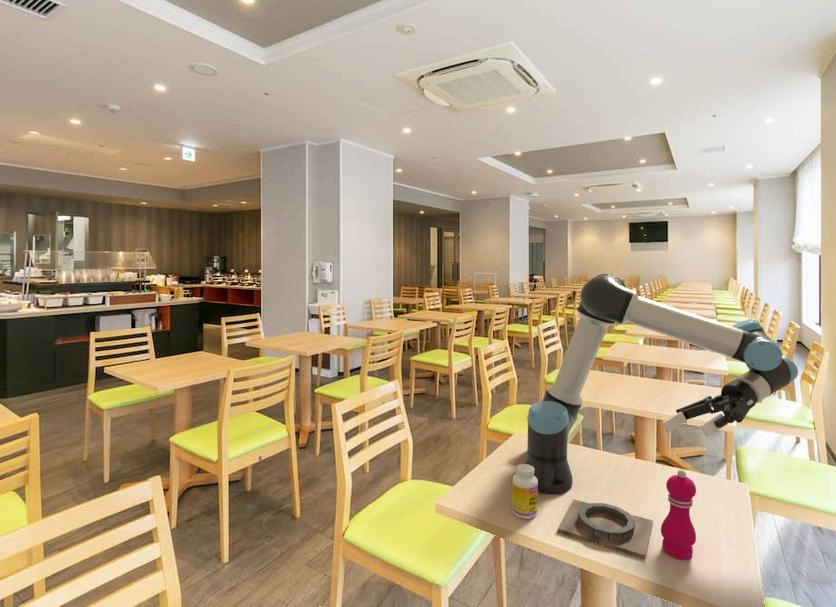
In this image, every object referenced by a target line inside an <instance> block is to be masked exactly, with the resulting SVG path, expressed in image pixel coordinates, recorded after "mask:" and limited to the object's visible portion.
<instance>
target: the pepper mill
mask: <svg viewBox="0 0 836 607" xmlns="http://www.w3.org/2000/svg"><path fill="white" fill-rule="evenodd" d="M665 486H666V491H667V492H668V495H667V496H668V498H667V501H668V502H669V511H668V514H667V515H666V516H665V518H664V520H663V522H662V524H661V527H660V533H661V536H662V541H661V542H662V545H661V548H662V550H663V551H664V552H665V553H666V554H667V555H669V557H672V558H673V559H677V560H691V558H692V557H693V553H694V547H693V546H694V545H695V544H696V542H697V534H696V530H695V527H694V525H693V522H692V520H691V516H690V510H691V508H692V507H693V503H694V500H693V498H694V497H695V496H696V494H697V488H696V484H695V482H694V481H693V480H692V479H691V478H690V477H687V472H686V471H685V470H684V469H683V470H682V469H680V470H678V471H677V474H675V475H671V476H669V478H667V481H666V484H665Z"/></svg>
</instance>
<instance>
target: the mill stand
mask: <svg viewBox="0 0 836 607" xmlns="http://www.w3.org/2000/svg"><path fill="white" fill-rule="evenodd" d="M653 523H654V520H652V519H649V518H645V517H641V516H638V515H633V514H631V513H629V512H628V511H626V510H624V509H622V508H621V507H619V506H617V505H613V504H608V503H606V502H605V503H604V502H590V503H589V502H586V501H583V500H577V499H575V498H574V499H572V500H571V503H570V505H569V507H568V509H567V510H566V512H565V514H564V516H563V518H562V520H561V522H560V524H559V525H558V527H557V533H559V534H561V535H562V534H563V535H565V536H568V535H569V536H570V537H571V538H576V539H578V540H582V541H585V542H589V543H591V542H593V543H592V544H594V543H596V544H595V545H597V544H599V545H598V546H601V545H603V546H602V547H604V546H605V548H607V547H608V549H610V548H611V550H614V549H615V550H614V551H617V550H618V551H617V552H620V551H622V552H621V553H623V552H624V554H627V553H628V554H627V555H629V556H630V555H631V556H633V555H634V557H637V558H640V559H644V560H646V557H647V553H648V548H649V544H650V538H651V534H652V531H653V530H652V529H653V526H654V525H653ZM569 536H568V537H569Z"/></svg>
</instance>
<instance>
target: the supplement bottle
mask: <svg viewBox="0 0 836 607" xmlns="http://www.w3.org/2000/svg"><path fill="white" fill-rule="evenodd" d="M515 472H516V474H514V475H513V477H512V484H511V485H512V487H511V491H512V492H511V512H512V513H513V515H514V516H516V517H517V518H519V519H522V518H523V520H531V519H534V518H536V516H537V514H538V480H537V478H536V477H535V476H534V467H533V466H531V465H528V464H524V463H520V464H518V465H517V466H516V471H515Z"/></svg>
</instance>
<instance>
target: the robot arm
mask: <svg viewBox="0 0 836 607" xmlns="http://www.w3.org/2000/svg"><path fill="white" fill-rule="evenodd" d="M576 311H577V313H578V315H579V319H578V321H577V324H576V326H575V328H574V329H575V330H574V332H573V335H572V337H571V339H570V342H569V345H568V347H567V350H566V352H565V355H564V357H563V359H562V362H561V364H560V367H559V370H558V373H557V375H556V377H555V380H554V383H553V384H550V385H548V386H547V388H546V389H545V392H544V396H543V398H542V400H541V401H539V402H535V403H533V404H532V405H530V406H529V408H528V412H527V417H526V418H527V449H526V450H527V451H526V452H527V455H526V457H525V460H524V463H523V464H528V465H531V466H533V467H534V476H535V477H536V478H537V480H538V492H539V493H543V494H562V493H566V492H568V491H569V490H571V489H572V487H573V475H572V474H573V473H572V471H571V467H570V464H569V462H568V436H569V434H570V432H571V430H572V428H573V426H574V424H575V423H576V422H577V419H578V414H579V412H580V410H581V407H582V404H583V398H582V397H581V394H582V391H583V389H584V386H585V383H586V381H587V378H588V377H589V374H590V371H591V369H592V367H593V364H594V361H595V359H596V358H597V354H598V353H599V350H600V347H601V344H602V342H603V340H604V338H605V335H606V332H607V329H608V328H609V327H611V326H614V325H615V324H616V323H617V324H620V325H625V324H632V325H634V326H637V327H641V328H644V329H647V330H649V331H652V332H655V333H658V334H661V335H664V336H666V337H669V338H673V339H676V340H679V341H682V342H685V343H687V344H690V345H693V346H696V347H698V348H702V349H705V350H708V351H711V352H714V353H716V354H720V355H722V356H725V357H728V358H729V359H730V358H731V359H734V360H735V361H738V362H742V363H743V364H746V366H747V368H748V370H747V371H746V372H744V373H742V374H741V375H739V376H737V377H736V378H734V379H733V380H731V381H730V382H728V383H726V384H724V385H723V386H722V388H721V391H720V395H719V394H718V395H715V396H714V397H712V396H711V395H709V396H707V397H704V398H703V399H700V400H698V401H695V402H692V403H690V404H688V405H685V406H682V407H680V408H678V409H676V410H675V412H676V413H675V415H673V416H671V417H669V418H668V419H666V420H664V421H662V422H661V425H662V426H663V428H664V430H665V432H666V433H671V432H672V431H674V430H675V429H677V428H678V427H680V426H682V425H683V424H687V422H688V420H691V419H695V418H697V417H700V416H704V415H706V414H711V415H713V414H716V413H718V414H716V415H715V416H713V417H711V418H710V419H708V420H707V421H705V422H704V423H702V424H700V425H699V427H700V429H701V431H702V433H703V434H704V436H705V437H709V436H711V435H712V434H715V433H716V432H717V431H719V430H721V429H722V428H724V427H725V426H726V425H728V424H733V423H734V422H736V423H738V424H739V423H742V422H743V421H744V419H745V417H747V415H748V413H749V412H750V410H751V409H752V408H754V407H755V406H756V404H758V403H759V404H760V403H763V400H765V399H766V398H768V397H769V396H771V395H773V394H774V393H776V392H778V391H780V390H781V389H783V388H786V387H787V386H788V385H789V384H791V383H792V382H793V381H795V380H796V379H797V377H798V375H799V371H798V366H797V365H796V364H795V362H793V361H792V360H791V359H790V358H789V357H787V356H784V355H783V352H782V349H781V347H780V345H779V344H778V343H777V342H775V340H772V338H770V337H769V336H768V334H767V333H766V332H765V330H764V326H762V325H761V324H760V322H759V321H758V320H757V319H755V318H754V319H753V318H752V319H751V318H750V319H746V320H742V321H739V322H738V323H735V324H733V325H727V324H725V323H722V322H719V321H715V320H713V319H710V318H707V317H703V316H700V315H697V314H694V313H690V312H689V311H688V312H687V311H685V310H682V309H678V308H675V307H673V306H669V305H666V304H663V303H660V302H657V301H654V300H651V299H649V298H645V297H641V296H639V295H638V293H637V291H635V290H632V289H629V288H627V286H626V284H625V282H624V281H623V280H622V279H621V278H619V277H617V276H616V275H613V274H610V273H602V274H598V275H596V276H594V277H593V278H591V279H589V280H588V281H587V282H586V283H585V284H584V285H583V287H582V288H581V291H580V302H579V304H578V307H577V310H576ZM712 408H713V409H712ZM719 412H722V413H719Z"/></svg>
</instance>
